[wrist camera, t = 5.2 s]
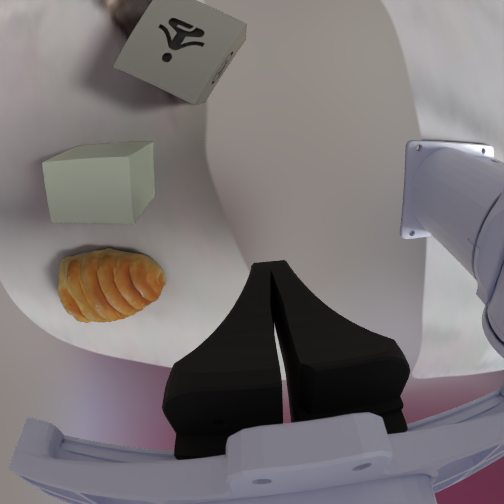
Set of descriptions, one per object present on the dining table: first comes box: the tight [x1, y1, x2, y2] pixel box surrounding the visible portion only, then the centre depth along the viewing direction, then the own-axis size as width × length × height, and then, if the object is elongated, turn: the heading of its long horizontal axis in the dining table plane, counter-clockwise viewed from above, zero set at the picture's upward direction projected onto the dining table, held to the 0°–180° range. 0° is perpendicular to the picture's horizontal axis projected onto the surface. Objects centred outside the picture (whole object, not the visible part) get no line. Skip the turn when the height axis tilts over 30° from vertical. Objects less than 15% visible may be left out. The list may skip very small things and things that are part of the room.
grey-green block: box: [42, 141, 155, 224], centre depth 18 cm, size 6×4×5 cm, turn 86°
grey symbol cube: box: [113, 0, 247, 105], centre depth 14 cm, size 5×5×5 cm
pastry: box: [58, 248, 166, 323], centre depth 23 cm, size 9×7×4 cm
